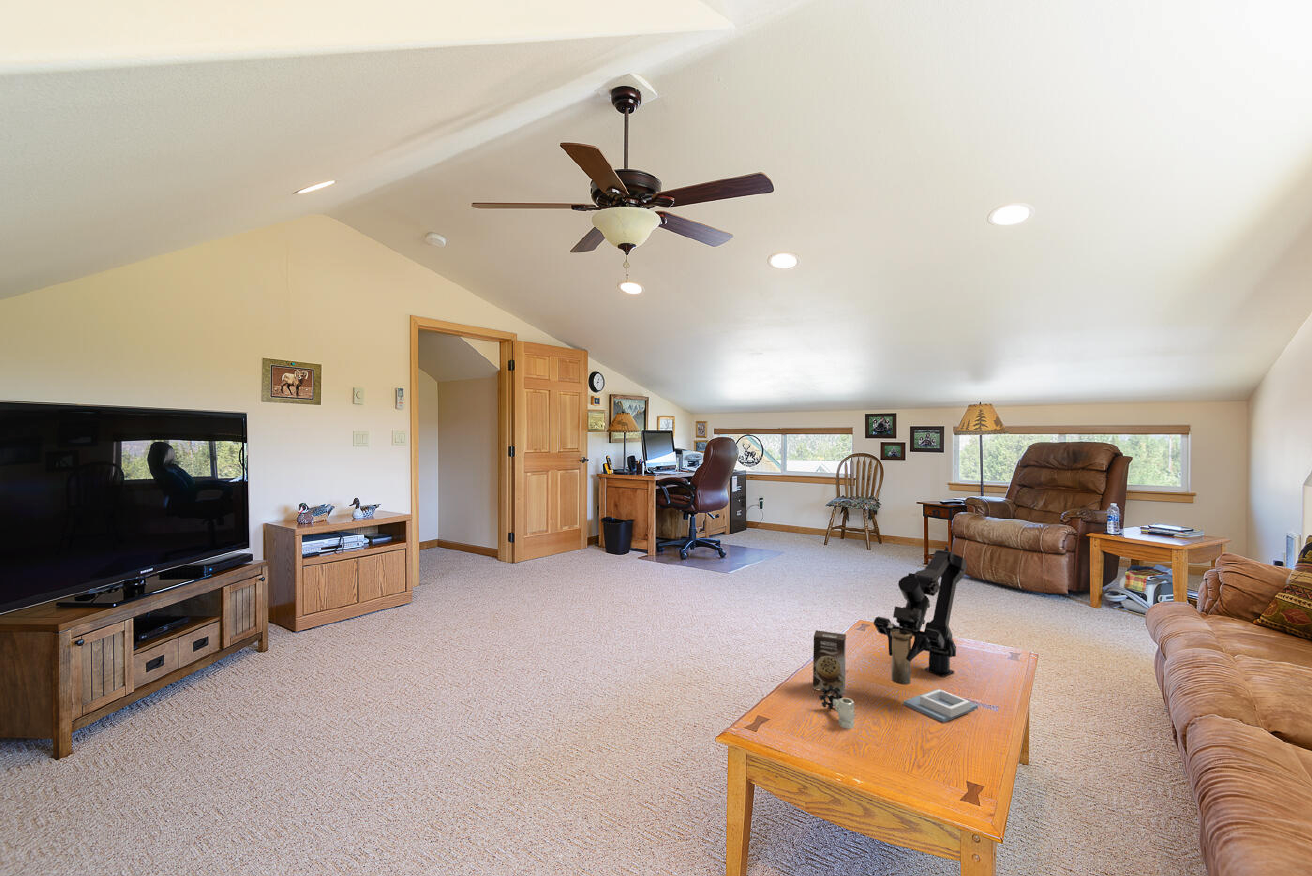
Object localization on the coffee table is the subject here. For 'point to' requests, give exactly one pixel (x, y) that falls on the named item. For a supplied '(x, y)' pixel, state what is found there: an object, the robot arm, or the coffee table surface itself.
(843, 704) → the valve
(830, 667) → the cookie box
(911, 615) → the robot arm
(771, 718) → the coffee table surface
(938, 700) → the collar plate
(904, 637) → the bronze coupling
